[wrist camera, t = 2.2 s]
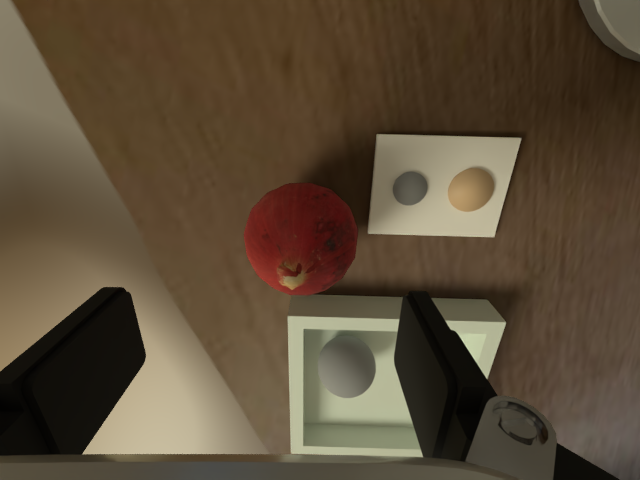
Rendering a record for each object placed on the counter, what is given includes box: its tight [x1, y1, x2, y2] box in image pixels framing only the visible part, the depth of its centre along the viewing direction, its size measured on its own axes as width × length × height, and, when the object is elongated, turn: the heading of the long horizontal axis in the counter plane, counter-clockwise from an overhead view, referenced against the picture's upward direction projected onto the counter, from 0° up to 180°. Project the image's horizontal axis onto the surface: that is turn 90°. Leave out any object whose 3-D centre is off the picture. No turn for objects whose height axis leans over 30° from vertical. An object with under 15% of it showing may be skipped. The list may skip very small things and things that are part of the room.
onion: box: [244, 183, 358, 296], centre depth 16 cm, size 6×6×8 cm
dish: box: [288, 295, 506, 457], centre depth 24 cm, size 14×14×2 cm
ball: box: [318, 335, 376, 398], centre depth 21 cm, size 4×4×4 cm
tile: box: [368, 134, 522, 237], centre depth 18 cm, size 6×8×1 cm
